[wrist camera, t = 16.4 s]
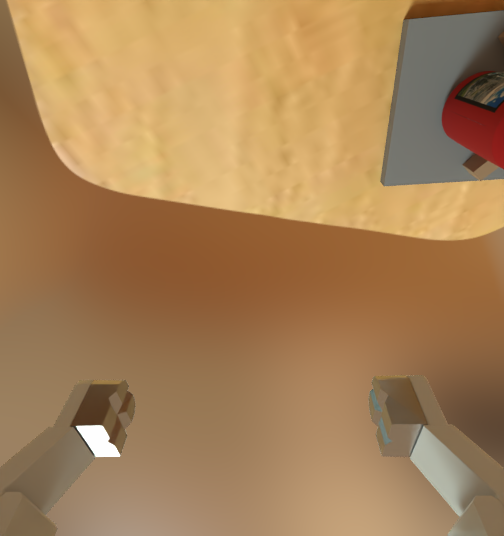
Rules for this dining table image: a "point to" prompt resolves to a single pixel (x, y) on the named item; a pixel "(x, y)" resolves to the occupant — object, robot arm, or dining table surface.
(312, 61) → the dining table surface
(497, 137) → the beverage can
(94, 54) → the dining table surface
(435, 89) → the v stop plate
